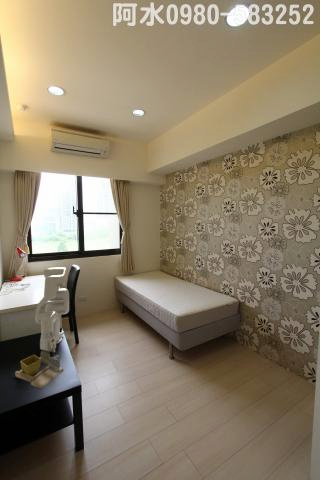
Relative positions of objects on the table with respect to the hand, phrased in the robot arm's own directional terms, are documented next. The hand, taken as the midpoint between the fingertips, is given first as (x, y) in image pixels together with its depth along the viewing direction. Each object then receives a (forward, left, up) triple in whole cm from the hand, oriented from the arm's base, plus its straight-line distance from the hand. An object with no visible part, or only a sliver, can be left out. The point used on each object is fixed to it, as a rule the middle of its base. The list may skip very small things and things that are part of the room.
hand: (47, 359), depth 152 cm
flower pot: (+13, 0, -2) cm, 13 cm away
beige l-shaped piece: (+12, +12, -2) cm, 17 cm away
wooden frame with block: (+9, 0, -2) cm, 9 cm away
